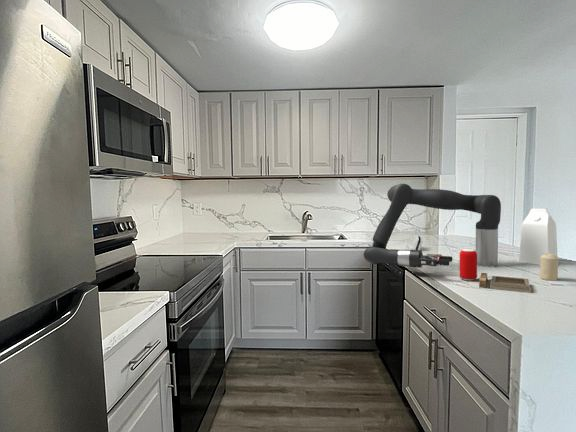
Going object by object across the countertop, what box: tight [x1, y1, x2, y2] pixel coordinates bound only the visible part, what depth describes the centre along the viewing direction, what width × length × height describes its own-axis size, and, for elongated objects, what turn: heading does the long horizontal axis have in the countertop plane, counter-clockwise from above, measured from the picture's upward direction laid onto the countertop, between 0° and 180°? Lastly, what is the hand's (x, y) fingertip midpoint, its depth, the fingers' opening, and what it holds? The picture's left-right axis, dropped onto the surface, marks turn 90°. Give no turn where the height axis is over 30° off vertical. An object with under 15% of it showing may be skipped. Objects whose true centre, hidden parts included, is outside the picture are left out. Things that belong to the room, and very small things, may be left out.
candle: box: [539, 253, 559, 281], centre depth 134 cm, size 6×6×10 cm
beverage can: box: [459, 248, 478, 282], centre depth 137 cm, size 6×6×12 cm
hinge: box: [406, 234, 424, 250], centre depth 212 cm, size 17×5×10 cm, turn 169°
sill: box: [478, 272, 488, 289], centre depth 131 cm, size 14×2×2 cm, turn 148°
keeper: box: [489, 275, 532, 294], centre depth 125 cm, size 12×12×2 cm
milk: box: [518, 208, 559, 266], centre depth 164 cm, size 12×12×26 cm
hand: (450, 261), depth 140 cm, fingers open, 8 cm apart
